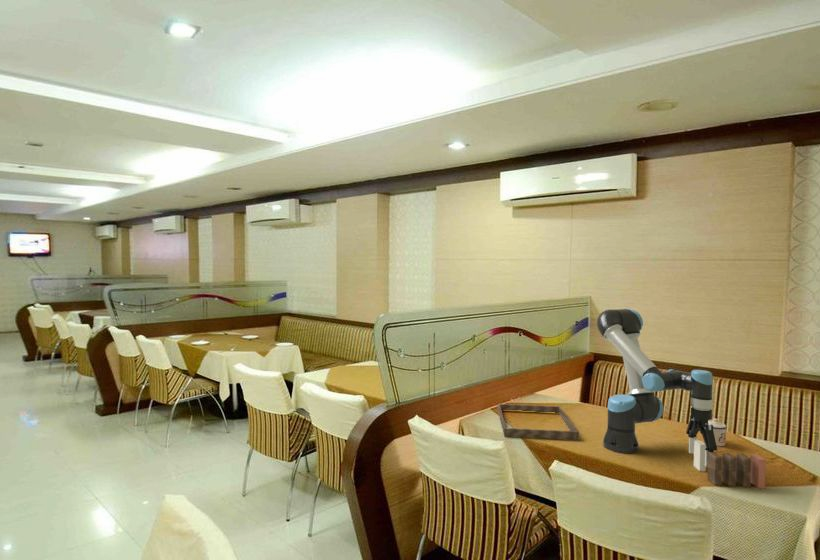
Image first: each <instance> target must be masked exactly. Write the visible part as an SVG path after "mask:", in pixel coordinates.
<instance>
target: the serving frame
mask: <svg viewBox="0 0 820 560" xmlns="http://www.w3.org/2000/svg"><path fill="white" fill-rule="evenodd" d="M501 410H522V411H535V412H555V413H559V414H560V415H559V414H558V415H559V417H560V416H561V417H562V418H561V417H560V418H561V420H562V419H563V420H564V421H563V420H562V421H563V423H564V422H565V423H566V424H565V423H564V424H565V426H566V425H567V426H568V427H567V426H566V427H567V429H568V428H569V429H570V430H569V429H568V430H558V429H557V430H555V429H554V430H553V429H537V428H536V429H534V428H517V427H516V428H514V427H507V425H506V421H505V418H504V415H503V412H502V411H501ZM498 412H499V414H498V417H499V416H500V418H499V421H501V422H500V426H501V425H502V426H501V430H502V429H503V430H502V433H503V436H504V438H521V437H535V438H534V439H540V438H550V439H549V440H560V439H566V441H579V431H578V430H577V428H576V426H575V424H573V422H572V420H570V418H569V416H567V414H566V413H565V411H564V410H563V408H562V407H561V406H555V405H554V406H553V405H552V406H551V405H535V404H534V405H531V404H530V405H529V404H513V403H512V404H509V403H497V413H498Z"/></svg>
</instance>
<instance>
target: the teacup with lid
mask: <svg viewBox="0 0 820 560" xmlns="http://www.w3.org/2000/svg"><path fill="white" fill-rule="evenodd" d="M708 424H709V425H713V432H714V436H715V441H716V446H717V447H724V446H726V444H727V443H726V439H727V434H726V433H727V424H725V423H723V422H721V421H719V419H718V418H712V419H711V420H708Z"/></svg>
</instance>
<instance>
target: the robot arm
mask: <svg viewBox="0 0 820 560" xmlns="http://www.w3.org/2000/svg"><path fill="white" fill-rule="evenodd" d="M596 326H597V329H598V332H599V333H600V335H601V337H603V338H604V340H606V341H609V342H610V343H611V344H612V345H613V346H614V347H615V348H616V350H617V351H618V352H619V353H620V354H621V356H622V361H623V364H624V369H625V374H626V378H627V383H628V388H629V391H628V392H627V394H621V393H619V394H614V395H612V396H610V397H609V398H608V400H607V401H608V402H607V428H606V431H605V434H604V437H603V439H602V445H603V447H604V448H606V449H608V450H610V451H613V452H617V453H623V454H635V453H637V452H639V449H640V444H639V441H638V437H637V435H636V425H637V424H643V423H652V422H654V421H657V420H660V418H661V417H662V415H664V404H663V402H662V400H661V399H660V398H659V397H658V396H657V395H655V392H662V391H671V390H683V391H688V392H690V407H691V408H690V415H689V422H688V424H687V427H686V431H685V433H686V435H687V437H688V453H689V454H694V440H698V439H697V438H698V436H697V435H698V433H700V434H701V435H702V439H703V443H705V445H706V449H705V466H706V467H708V453H709V452H715V451H717V452H718V446H716V441H715V436H714V432H713V425H709V424H708V421H711V420H713V410H712V409H713V403H714V401H713V385H714V381H713V373H712V372H711V371H708V370H703V369H693V370H691V372H686V371H682V370H679V369H672V368H669V369H668V370H666V371H665V372H664V371H662V370H660V368H659V367H657V366H656V365H655V363H654V362H653V361H652V360H651V359H650V358H649V357H648V356H647V355H646V354H645V353H644V351H642V349H641V347H640V341H639V337H641V332H640V331H641V330H642V329H643V327H644V320H643V318H642V315H641V314H640V313H639V312H638V311H636V310H635V309H629V308H623V309H622V308H619V309H607V310H603V311H602V312H601V313H600V314H598V317H597V318H596Z"/></svg>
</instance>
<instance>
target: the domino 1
mask: <svg viewBox="0 0 820 560" xmlns="http://www.w3.org/2000/svg"><path fill="white" fill-rule="evenodd" d="M705 449H706V445H705V442H704V441H702V440H700V439H697V440H694V453H693V467H694V468H695V469H696V470H698V471H699V472H706V471H707V469H706V468H707V466H705Z"/></svg>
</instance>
